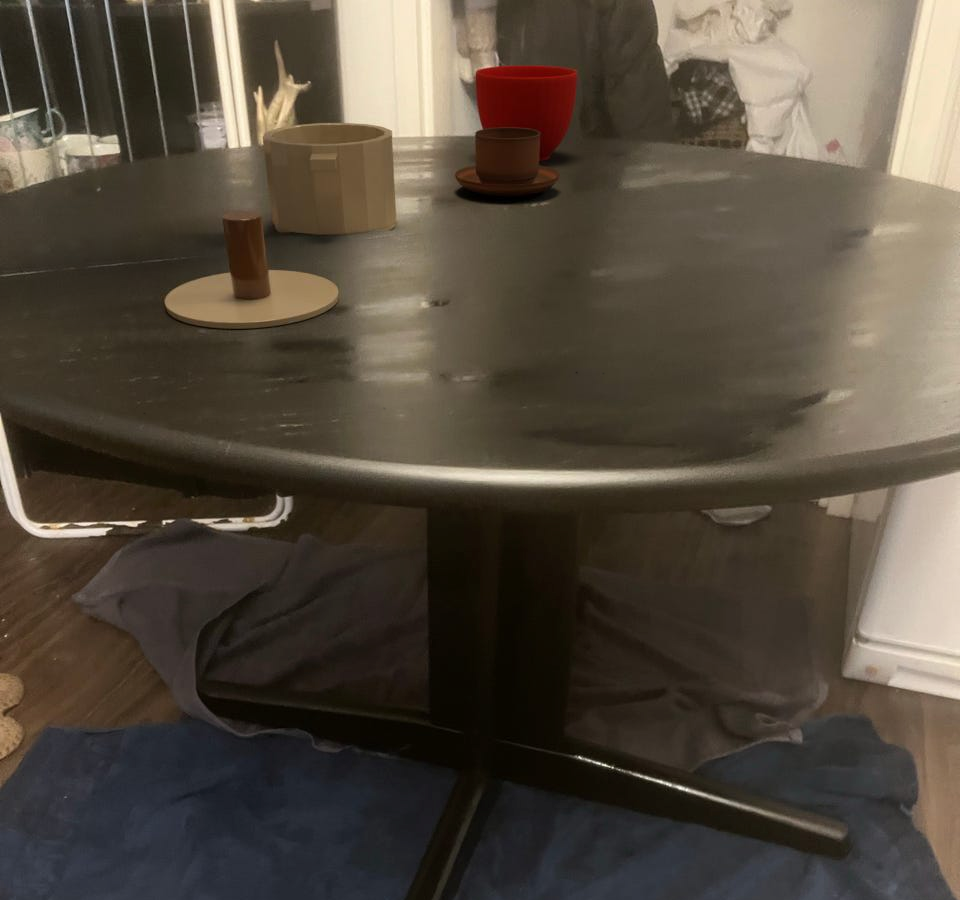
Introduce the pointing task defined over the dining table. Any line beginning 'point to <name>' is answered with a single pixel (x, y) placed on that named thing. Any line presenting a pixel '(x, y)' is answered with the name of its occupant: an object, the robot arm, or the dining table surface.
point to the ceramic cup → (528, 100)
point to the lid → (250, 286)
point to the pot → (331, 178)
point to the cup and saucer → (507, 164)
